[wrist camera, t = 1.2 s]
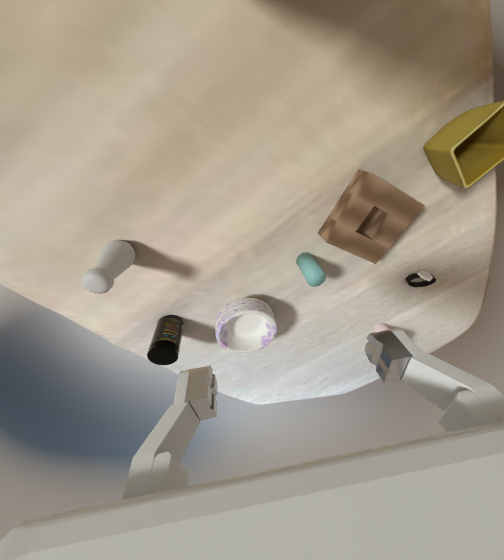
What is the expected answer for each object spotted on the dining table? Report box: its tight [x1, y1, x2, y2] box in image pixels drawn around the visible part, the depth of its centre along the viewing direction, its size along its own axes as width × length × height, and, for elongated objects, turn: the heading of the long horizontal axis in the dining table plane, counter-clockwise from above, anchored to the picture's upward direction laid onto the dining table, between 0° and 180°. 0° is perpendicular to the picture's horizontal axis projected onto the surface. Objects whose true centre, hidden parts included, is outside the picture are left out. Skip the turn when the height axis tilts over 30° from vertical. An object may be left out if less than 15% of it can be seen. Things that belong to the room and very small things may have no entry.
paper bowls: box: [215, 298, 277, 353], centre depth 57 cm, size 15×15×8 cm
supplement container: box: [147, 315, 184, 365], centre depth 55 cm, size 7×7×10 cm
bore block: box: [318, 170, 425, 264], centre depth 46 cm, size 14×14×5 cm
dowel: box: [296, 253, 326, 287], centre depth 50 cm, size 4×4×8 cm
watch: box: [406, 270, 436, 287], centre depth 59 cm, size 8×5×4 cm, turn 83°
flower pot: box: [423, 101, 504, 188], centre depth 38 cm, size 9×9×9 cm
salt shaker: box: [82, 240, 136, 294], centre depth 41 cm, size 6×6×13 cm
